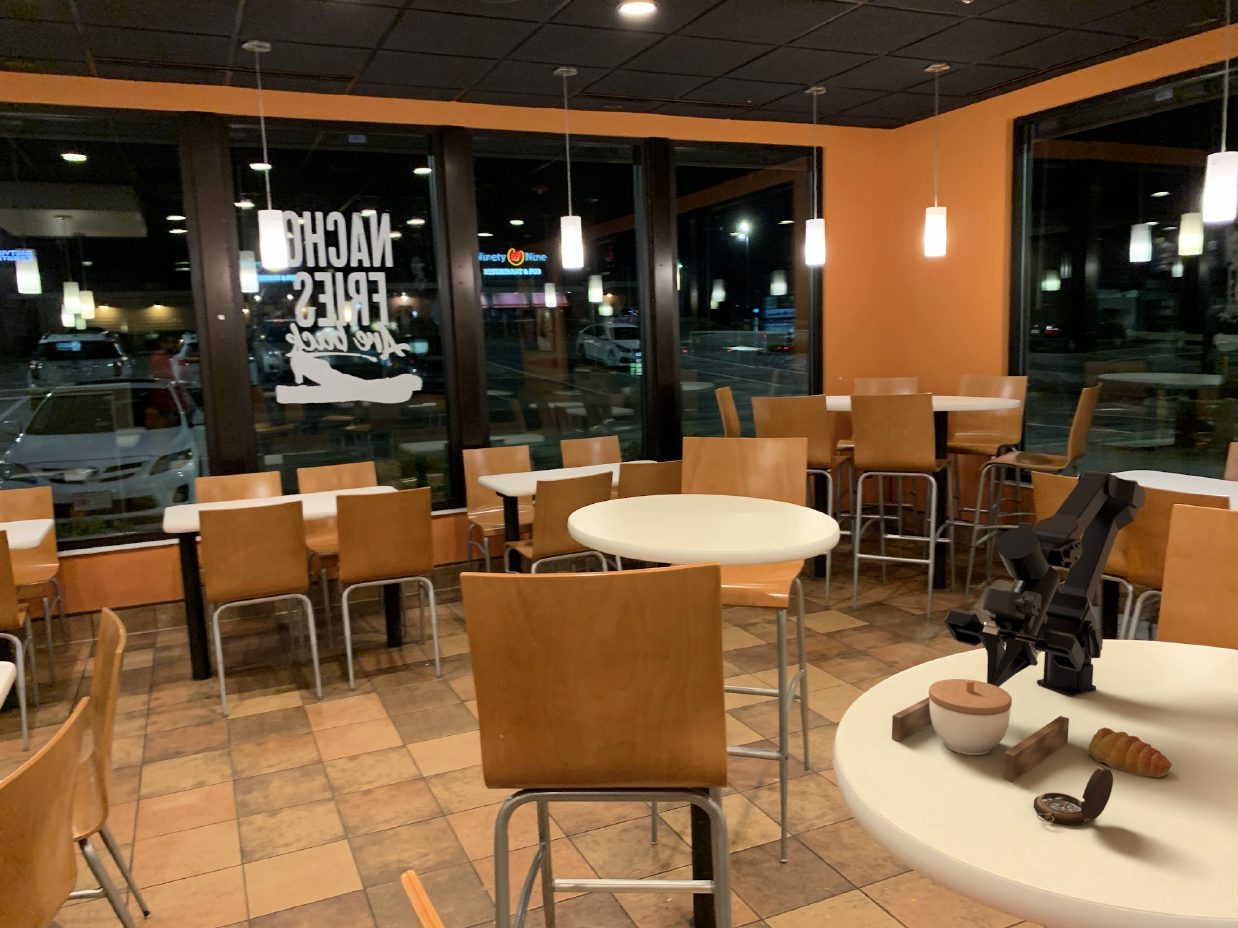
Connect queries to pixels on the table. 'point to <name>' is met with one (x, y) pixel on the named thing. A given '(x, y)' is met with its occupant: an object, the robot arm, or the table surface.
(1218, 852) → the table surface
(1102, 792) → the compass
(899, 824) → the table surface
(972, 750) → the lidded jar
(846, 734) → the table surface
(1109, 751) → the pastry
